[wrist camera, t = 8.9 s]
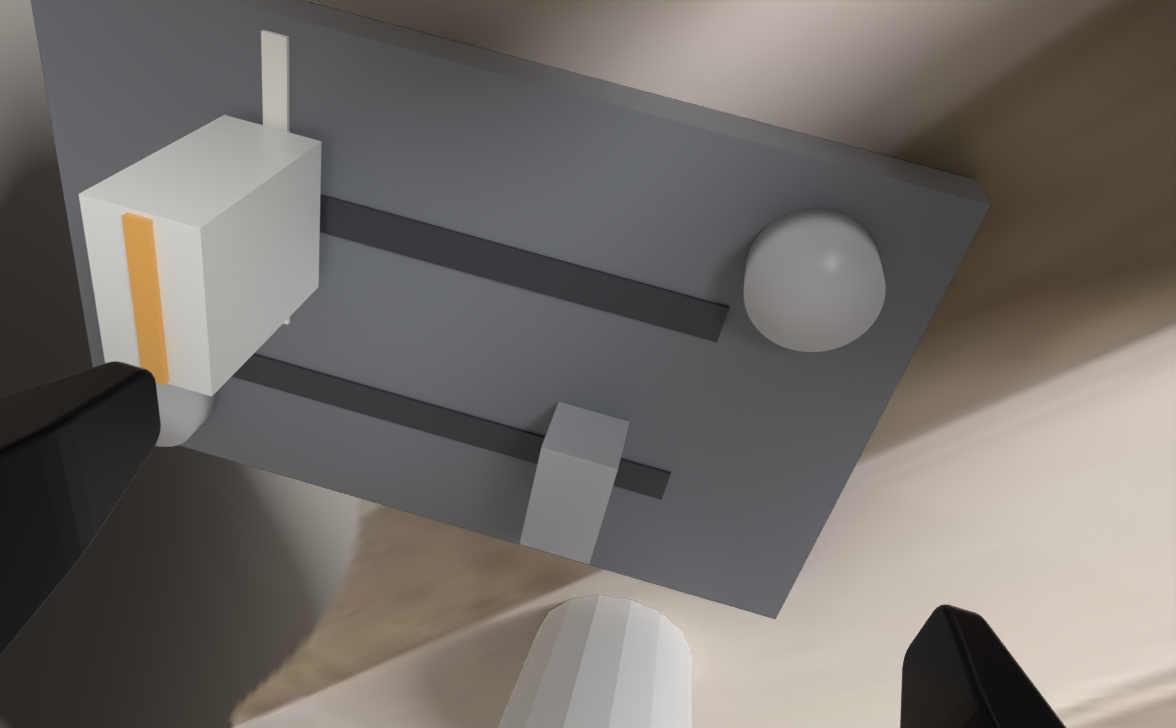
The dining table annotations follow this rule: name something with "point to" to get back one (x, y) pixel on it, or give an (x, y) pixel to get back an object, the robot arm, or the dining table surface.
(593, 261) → the console
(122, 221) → the fader
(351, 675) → the dining table surface
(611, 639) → the white cup
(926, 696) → the robot arm
